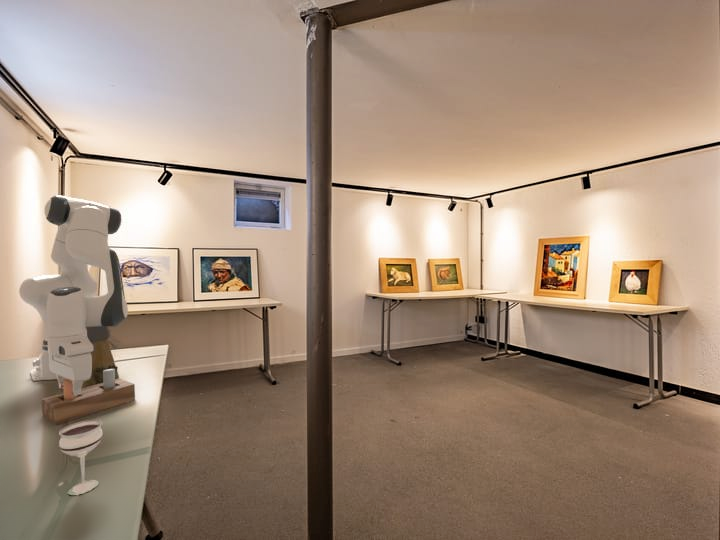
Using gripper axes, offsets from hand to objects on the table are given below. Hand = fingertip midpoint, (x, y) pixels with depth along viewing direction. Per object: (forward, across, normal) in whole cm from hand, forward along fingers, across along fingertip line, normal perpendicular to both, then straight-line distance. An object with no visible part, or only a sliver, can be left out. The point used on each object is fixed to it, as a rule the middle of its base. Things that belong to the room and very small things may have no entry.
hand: (70, 391), depth 103 cm
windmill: (+7, -25, +16) cm, 30 cm away
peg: (+7, 0, 0) cm, 7 cm away
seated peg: (+7, 0, +10) cm, 12 cm away
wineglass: (+7, +43, -12) cm, 45 cm away
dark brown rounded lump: (+7, -11, +13) cm, 18 cm away
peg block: (+7, 0, +5) cm, 8 cm away
